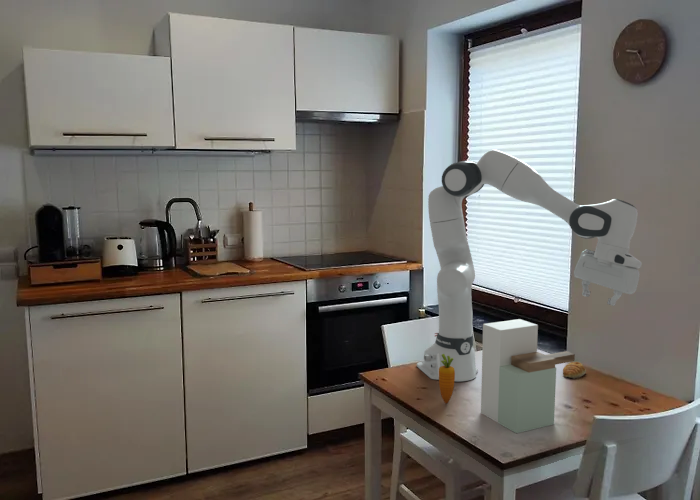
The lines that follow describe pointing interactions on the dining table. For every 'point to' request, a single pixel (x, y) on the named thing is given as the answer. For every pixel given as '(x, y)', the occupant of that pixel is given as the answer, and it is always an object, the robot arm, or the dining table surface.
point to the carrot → (446, 379)
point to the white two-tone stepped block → (515, 378)
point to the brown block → (540, 360)
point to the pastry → (574, 370)
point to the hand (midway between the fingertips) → (597, 300)
